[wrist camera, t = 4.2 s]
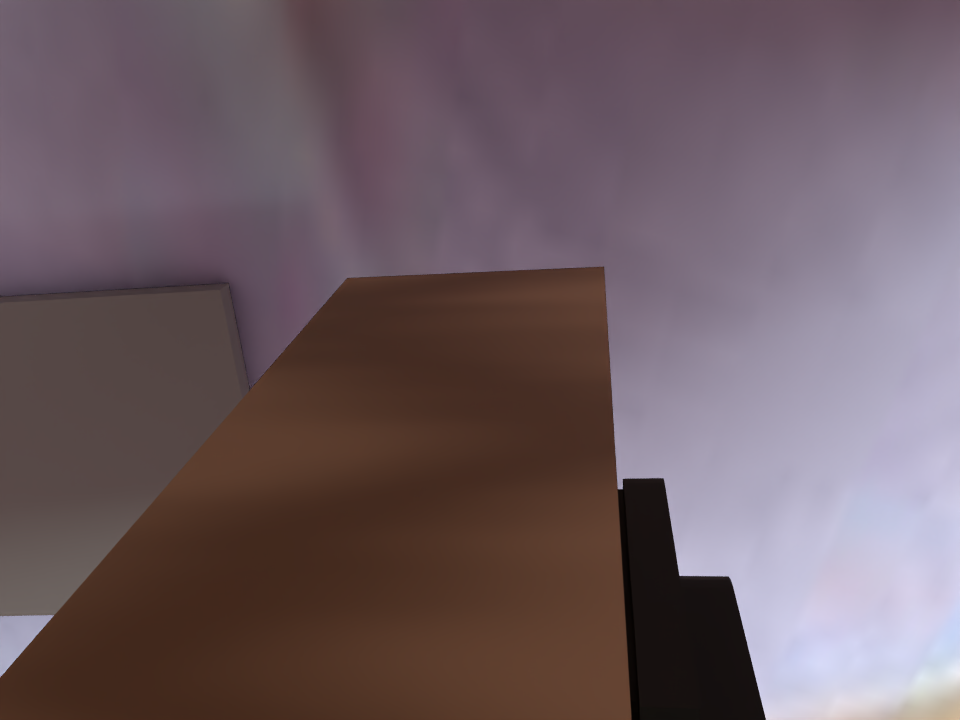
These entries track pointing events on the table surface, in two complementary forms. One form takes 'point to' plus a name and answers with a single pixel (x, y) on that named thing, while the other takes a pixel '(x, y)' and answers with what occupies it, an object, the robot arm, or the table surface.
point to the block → (376, 529)
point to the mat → (101, 421)
